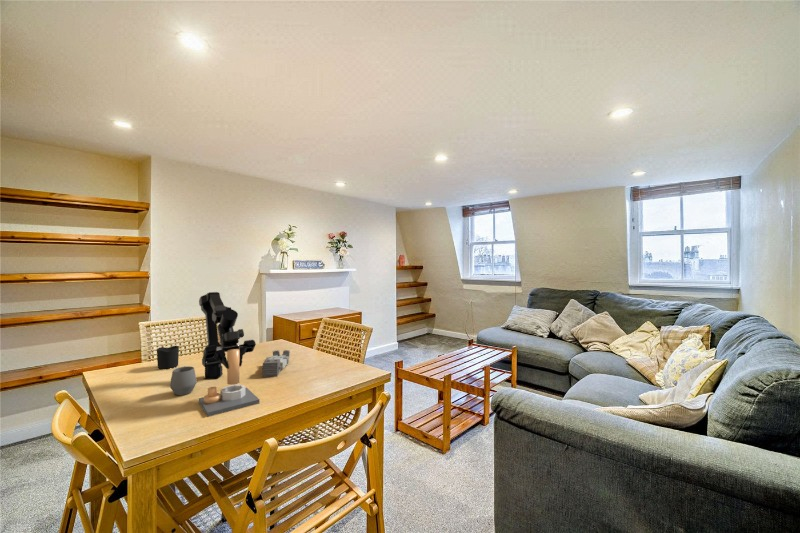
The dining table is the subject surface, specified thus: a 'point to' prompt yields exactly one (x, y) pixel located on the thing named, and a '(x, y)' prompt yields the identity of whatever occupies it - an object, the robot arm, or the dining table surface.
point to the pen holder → (167, 357)
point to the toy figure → (275, 363)
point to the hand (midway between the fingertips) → (234, 367)
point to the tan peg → (233, 366)
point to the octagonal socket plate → (227, 399)
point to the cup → (183, 380)
